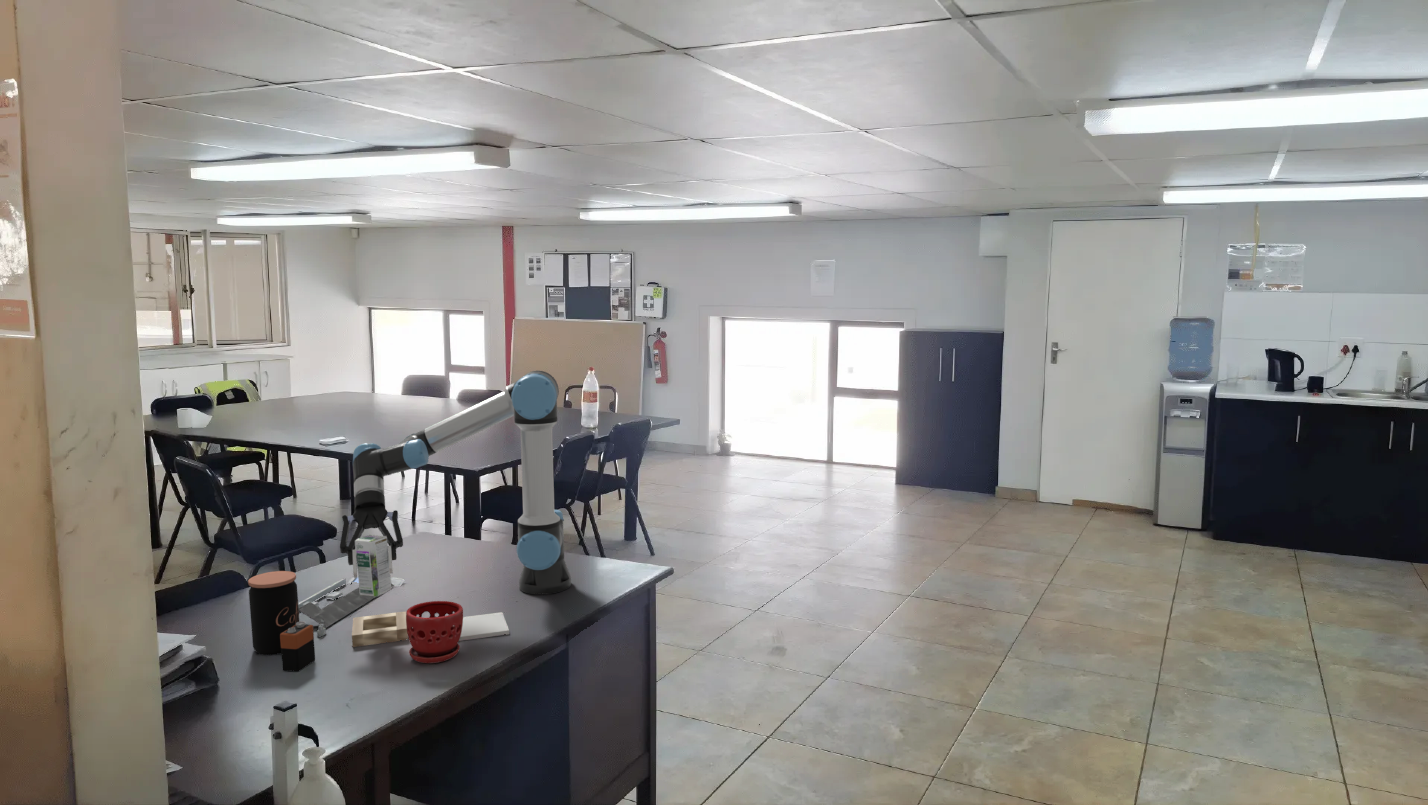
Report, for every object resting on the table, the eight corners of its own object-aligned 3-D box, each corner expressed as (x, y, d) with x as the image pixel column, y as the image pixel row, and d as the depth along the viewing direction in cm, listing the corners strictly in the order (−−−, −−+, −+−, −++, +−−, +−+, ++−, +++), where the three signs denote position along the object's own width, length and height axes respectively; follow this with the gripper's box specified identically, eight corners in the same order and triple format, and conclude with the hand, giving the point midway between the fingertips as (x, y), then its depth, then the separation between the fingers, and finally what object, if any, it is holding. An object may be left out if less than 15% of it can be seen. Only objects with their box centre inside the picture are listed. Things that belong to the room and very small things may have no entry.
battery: (316, 660, 216) (313, 620, 215) (298, 672, 210) (295, 631, 209) (300, 659, 217) (297, 619, 216) (281, 671, 211) (278, 630, 209)
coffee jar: (282, 658, 218) (276, 585, 216) (243, 654, 220) (237, 583, 218) (310, 641, 229) (305, 572, 226) (272, 638, 231) (267, 569, 228)
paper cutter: (256, 635, 234) (255, 614, 233) (354, 580, 278) (353, 562, 277) (320, 639, 231) (318, 618, 230) (408, 582, 275) (407, 565, 274)
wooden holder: (406, 622, 241) (405, 611, 241) (407, 639, 229) (407, 628, 228) (353, 628, 237) (353, 617, 236) (352, 647, 224) (351, 635, 224)
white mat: (502, 615, 245) (502, 612, 245) (509, 634, 232) (509, 630, 232) (448, 622, 240) (448, 619, 240) (452, 641, 227) (452, 638, 227)
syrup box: (358, 595, 230) (353, 540, 228) (375, 587, 235) (369, 533, 233) (377, 597, 228) (371, 541, 226) (392, 589, 233) (387, 534, 231)
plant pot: (434, 671, 210) (431, 622, 208) (396, 660, 217) (393, 611, 215) (476, 652, 221) (474, 605, 219) (439, 641, 228) (436, 595, 226)
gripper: (410, 500, 246) (416, 575, 234) (328, 508, 240) (330, 585, 227) (410, 485, 241) (416, 560, 228) (326, 492, 234) (327, 571, 221)
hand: (373, 573), depth 227 cm, fingers closed on syrup box, 8 cm apart
